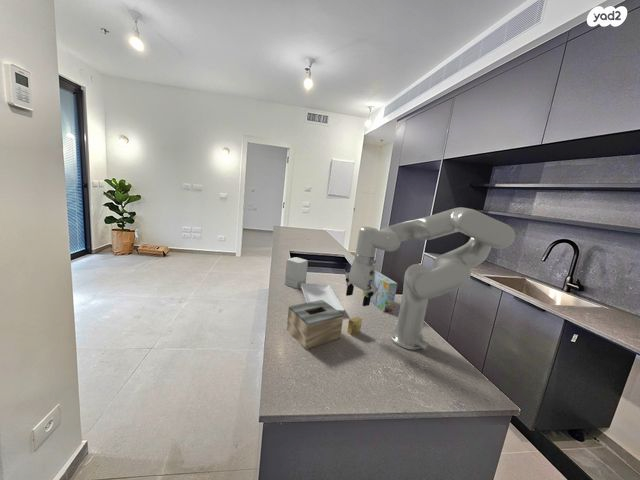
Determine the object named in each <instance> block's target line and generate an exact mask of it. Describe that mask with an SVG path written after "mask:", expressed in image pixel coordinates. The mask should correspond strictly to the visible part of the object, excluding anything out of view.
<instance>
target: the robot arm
mask: <svg viewBox="0 0 640 480" xmlns="http://www.w3.org/2000/svg"><path fill="white" fill-rule="evenodd" d="M458 232H459V233H462V234H464V235H465V236H468V237H470V238H469V239H468V242H466V243H465V244H463V245H462V246H459V247H457V248H455V249H453V250H450V251H448V252H445V253H443V254H440V255H439V256H437V257H436V258H434V260H433V262H432V269H431V270H430V269H429V268H428V267H427V266H426V265H424V264H420V263H414V264H412V265H410V266H408V268H407V269H406V270H405V273H404V277H403V287H402V288H403V290H402V295H401V299H400V306H399V311H398V317H397V323H396V328H395V329H394V330H393V331H391V333H390V338H391V341H392V342H393V343H395V344H396V345H397V346H399V347H401V348H404V349H405V350H406V349H407V350H413V351H414V350H415V351H417V350H420V349H423V350H424V351H426V350H428V348H429V344H430V343H429V342H428V341H426V340H424V334H422V330H423V328H424V327H423V326H424V322H425V318H426V317H425V316H426V313H427V307H428V303H429V299H434V298H437V297H440V296H442V295H445V294H447V293H450V292H452V291H455V290H457V289H459V288H461V287H463V286H464V285H465V284H467V283H468V281H470V278H471V275H472V272H471V271H472V270H471V269H473V268H475V267H476V266H479V265H481V264H482V263H483V262H484V261H485V260H486V259H488V258H487V257H489V254H490V252H491V249H492V248H493V249H498V250H502V249H506V248H507V249H508V248H509V247H510V246H511V245H512V244H514V241H515V239H516V233H515V230H514V229H513V228H512V227H511V226H510V225H508V224H506V223H505V222H502V221H500V220H497V219H495V218H494V217H490V216H489V215H487V214H484V213H482V212H480V211H478V210H476V209H474V208H468V207H463V206H462V207H455V208H451V209H447V210H444V211H441V212H438V213H434V214H432V215H427V216H424V217H420V218H416V219H412V220H407V221H403V222H399V223H396V224H395V223H394V224H392V225H388V226H386V227H383V228H381V229H380V230H379V229H377V228H375V227H371V226H361V227H360V228H359V231H358V237H357V243H356V248H355V254H354V259H353V260H352V263H351V265H350V266H351V267H350V270H349V272H346V273H345V274H344V275H345V282H346V284H345V285H346V292H345V296H347V297H349V296H352V295H354V294H353V293H354V289H355V287H356V288H358V289H360V290H362V291H363V290H364V293H365V296H364V295H363V300H362V306H363V307H367V306H370V303H371V301H370V299H371V296H373V295H375V293H376V292H377V291H378V288H377V287H376V286H375V284H374V281H375V270H376V262H377V261H376V260H375V259H376V254H377V253H376V252H377V249H378V250H381V251H385V252H389V253H390V252H394V251H396V250H398V249H400V246H401V243H402V242H405V241H410V240H421V241H429V240H430V241H431V240H434V239H437V238H441V237H444V236H448V235H451V234H454V233H458ZM371 289H372V291H371ZM367 290H368V292H369V293H368V292H367Z"/></svg>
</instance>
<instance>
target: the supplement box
mask: <svg viewBox="0 0 640 480" xmlns="http://www.w3.org/2000/svg"><path fill="white" fill-rule="evenodd" d="M308 265H309V260H307V259H304V258H301V257H297V256H296V257H295V256H294V257H291V258H287V259H286V265H285V274H284V275H285V276H284V285H285V286H287V287H291V288H293V289H299V288H302V287H301V283H305V284H307V274H308V273H307V272H308Z"/></svg>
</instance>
